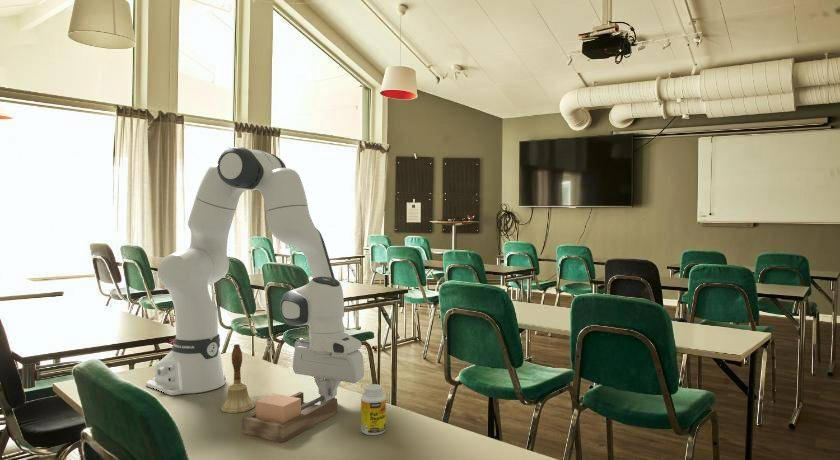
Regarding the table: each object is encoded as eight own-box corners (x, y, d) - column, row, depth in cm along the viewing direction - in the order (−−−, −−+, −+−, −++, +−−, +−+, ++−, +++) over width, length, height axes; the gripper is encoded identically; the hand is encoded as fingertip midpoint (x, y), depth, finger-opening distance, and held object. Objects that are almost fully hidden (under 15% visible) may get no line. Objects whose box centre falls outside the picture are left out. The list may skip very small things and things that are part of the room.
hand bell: (214, 407, 147) (213, 345, 146) (245, 399, 152) (243, 339, 152) (230, 416, 141) (229, 350, 140) (261, 407, 147) (260, 344, 146)
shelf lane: (242, 433, 130) (242, 417, 130) (299, 405, 148) (299, 391, 147) (282, 442, 125) (282, 426, 124) (337, 412, 142) (337, 398, 142)
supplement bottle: (368, 438, 127) (368, 392, 126) (357, 430, 131) (356, 385, 131) (390, 432, 130) (390, 387, 129) (378, 424, 134) (378, 381, 134)
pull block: (256, 429, 131) (255, 401, 131) (319, 398, 152) (319, 373, 152) (283, 435, 128) (283, 406, 127) (345, 402, 148) (344, 377, 148)
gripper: (286, 339, 150) (287, 392, 150) (352, 348, 140) (353, 404, 141) (302, 334, 155) (303, 385, 156) (367, 342, 146) (367, 396, 146)
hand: (327, 394), depth 148 cm, fingers closed on pull block, 2 cm apart
